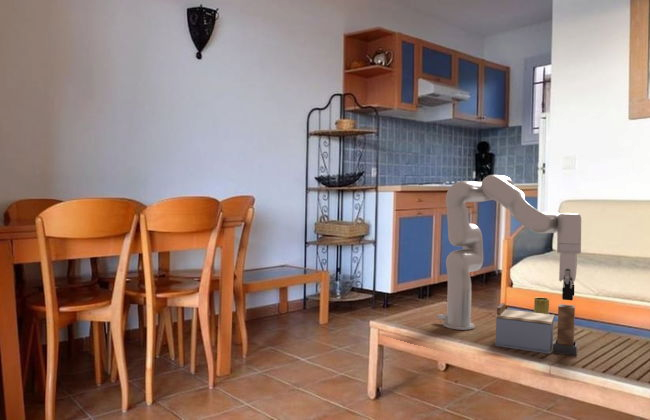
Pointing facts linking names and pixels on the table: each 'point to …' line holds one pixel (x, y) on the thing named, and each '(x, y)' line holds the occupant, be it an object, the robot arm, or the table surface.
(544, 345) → the toolbox
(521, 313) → the lid
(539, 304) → the vase
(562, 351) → the socket
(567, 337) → the brown wooden block
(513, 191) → the robot arm
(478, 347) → the table surface
